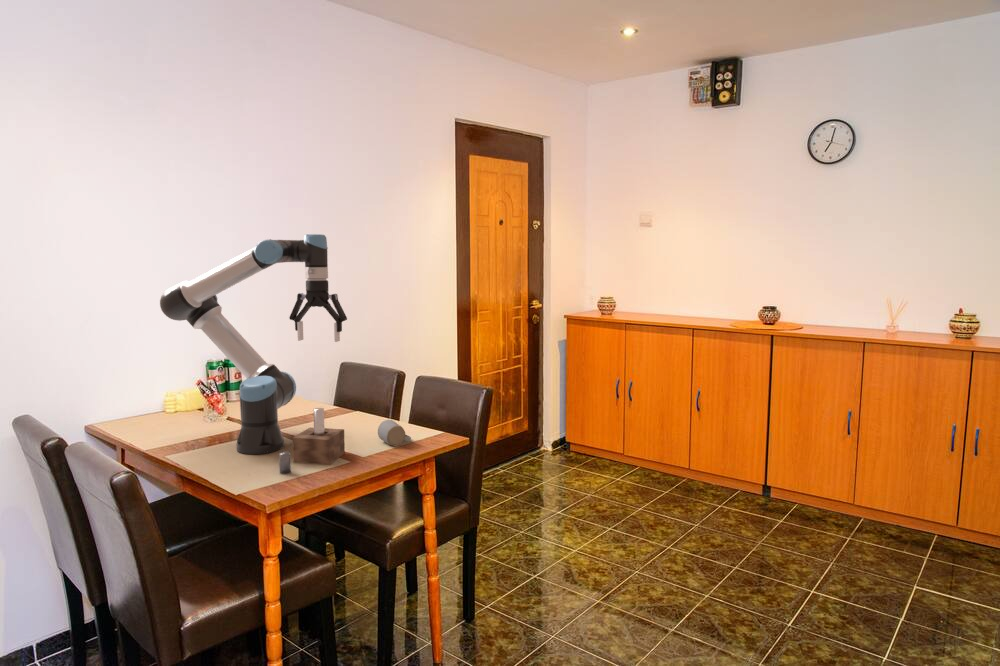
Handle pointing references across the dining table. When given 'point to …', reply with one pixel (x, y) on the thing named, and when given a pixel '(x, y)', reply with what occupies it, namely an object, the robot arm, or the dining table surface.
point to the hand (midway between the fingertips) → (318, 340)
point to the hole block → (318, 446)
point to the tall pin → (319, 422)
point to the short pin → (284, 462)
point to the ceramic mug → (392, 433)
